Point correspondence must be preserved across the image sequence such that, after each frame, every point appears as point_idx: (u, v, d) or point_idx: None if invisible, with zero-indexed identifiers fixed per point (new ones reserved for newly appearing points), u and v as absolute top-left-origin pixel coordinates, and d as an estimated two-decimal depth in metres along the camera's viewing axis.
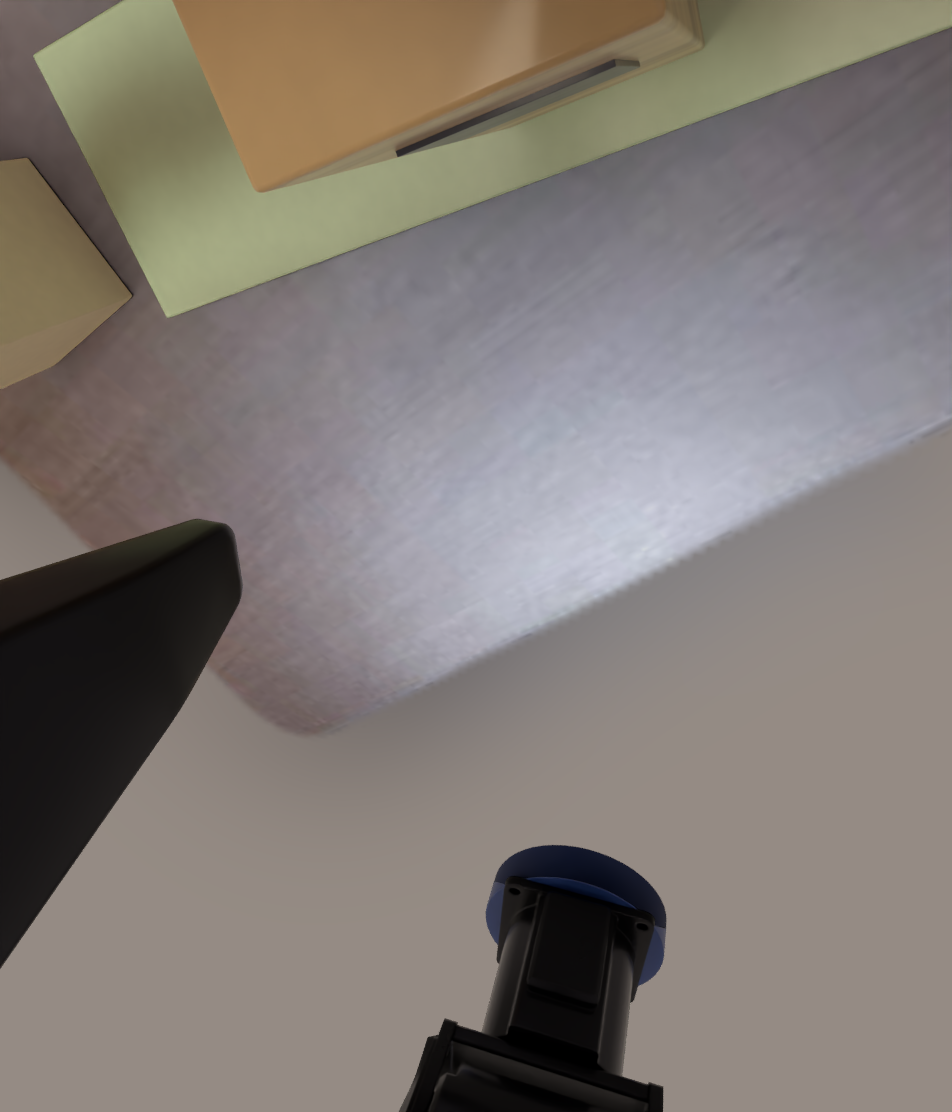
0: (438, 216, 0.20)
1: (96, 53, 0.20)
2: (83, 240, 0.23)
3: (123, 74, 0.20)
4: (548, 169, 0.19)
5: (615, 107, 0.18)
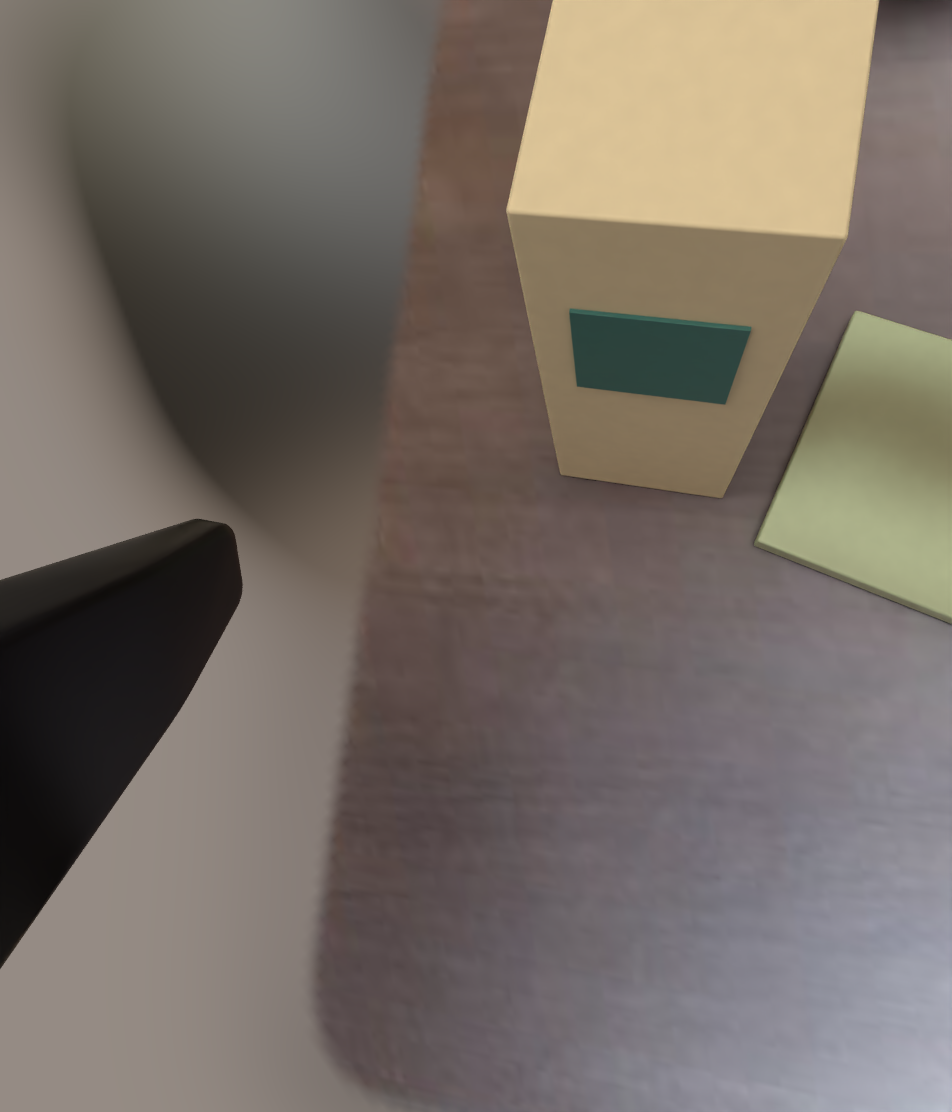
0: None
1: (917, 352, 0.21)
2: None
3: (927, 380, 0.21)
4: None
5: None
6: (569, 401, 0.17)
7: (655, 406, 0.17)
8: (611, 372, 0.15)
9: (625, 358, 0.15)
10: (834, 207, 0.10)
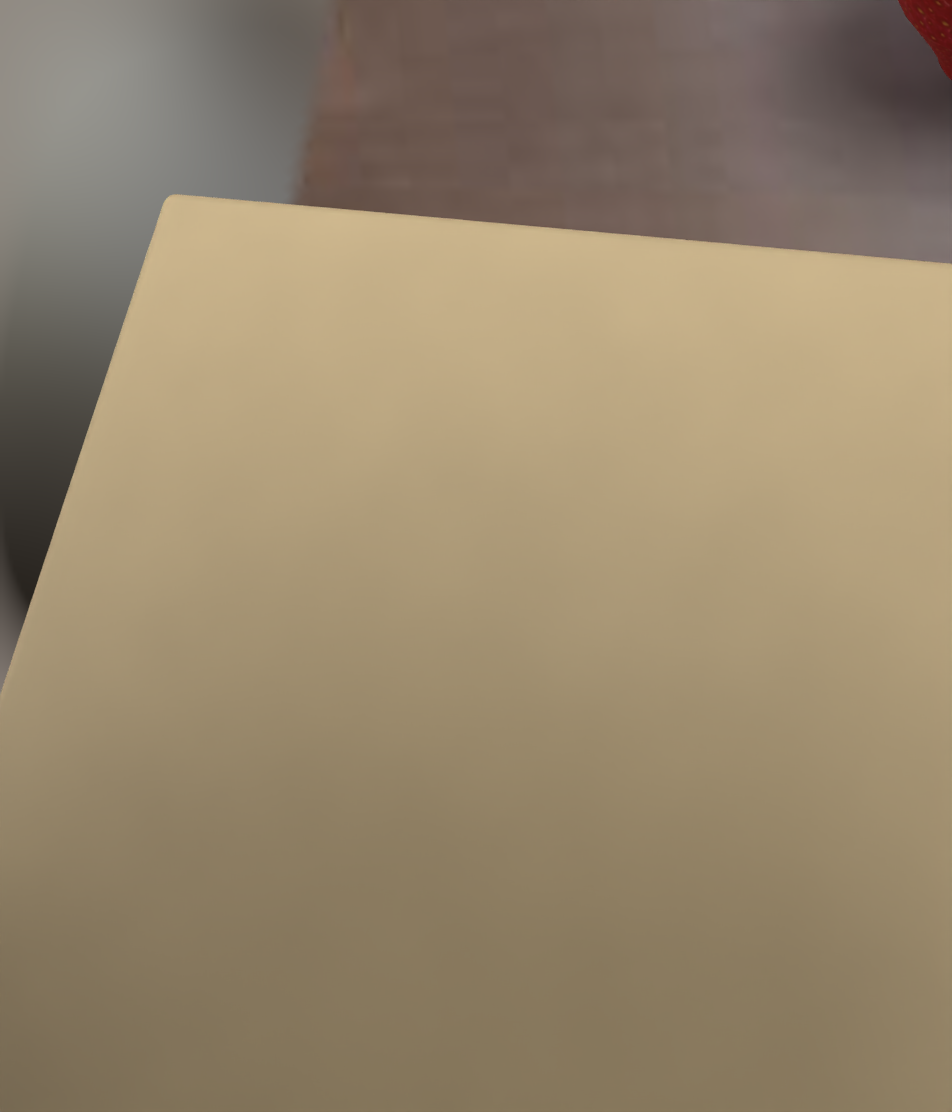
0: None
1: None
2: None
3: None
4: None
5: None
6: None
7: None
8: None
9: None
10: None
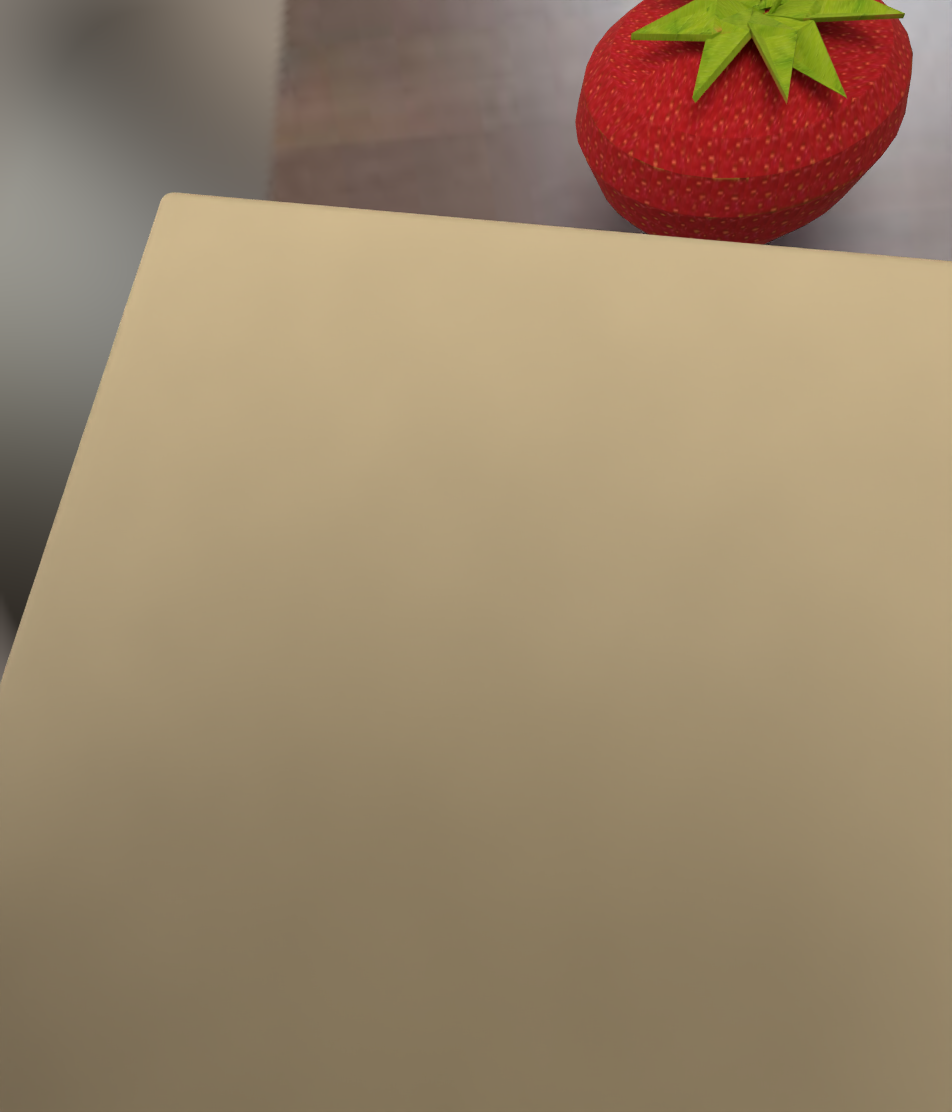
0: None
1: None
2: None
3: None
4: None
5: None
6: None
7: None
8: None
9: None
10: None
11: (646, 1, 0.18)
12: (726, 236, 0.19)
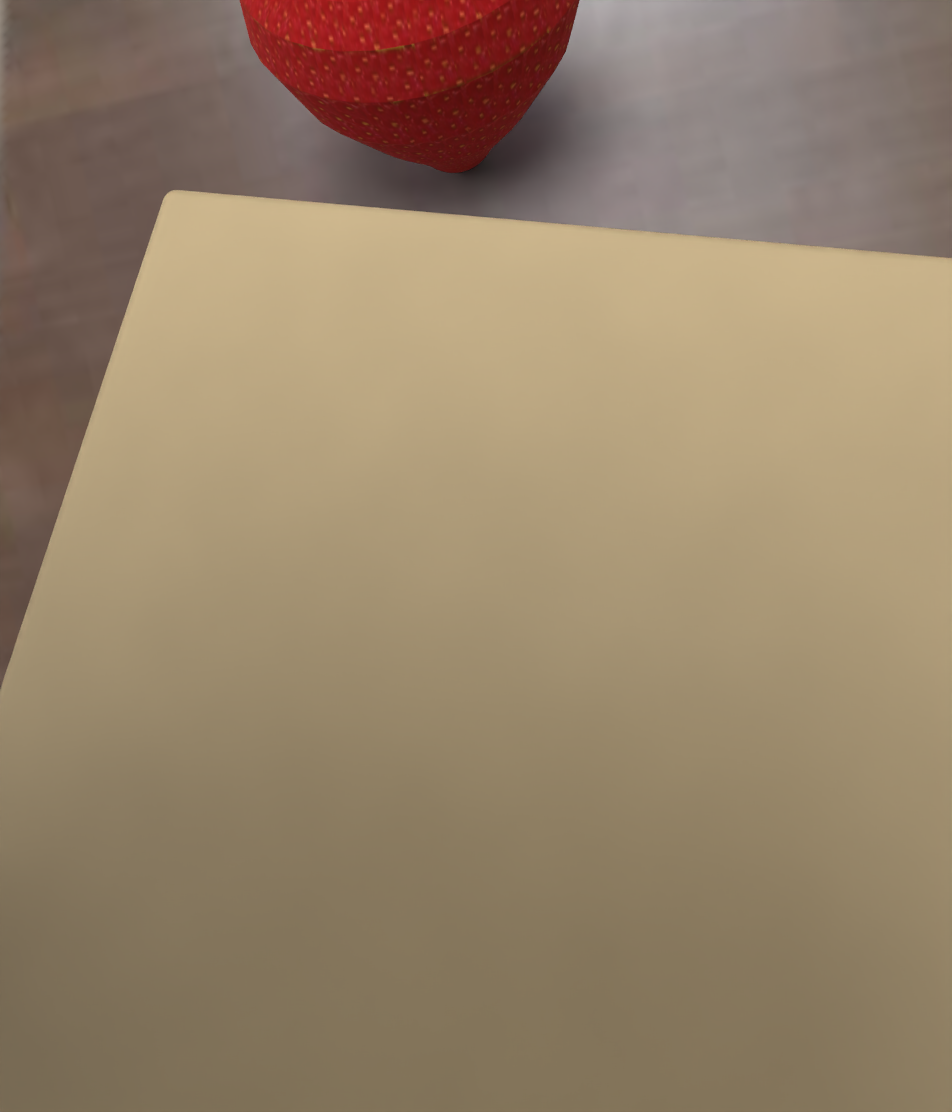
0: None
1: None
2: None
3: None
4: None
5: None
6: None
7: None
8: None
9: None
10: None
11: None
12: (429, 126, 0.17)
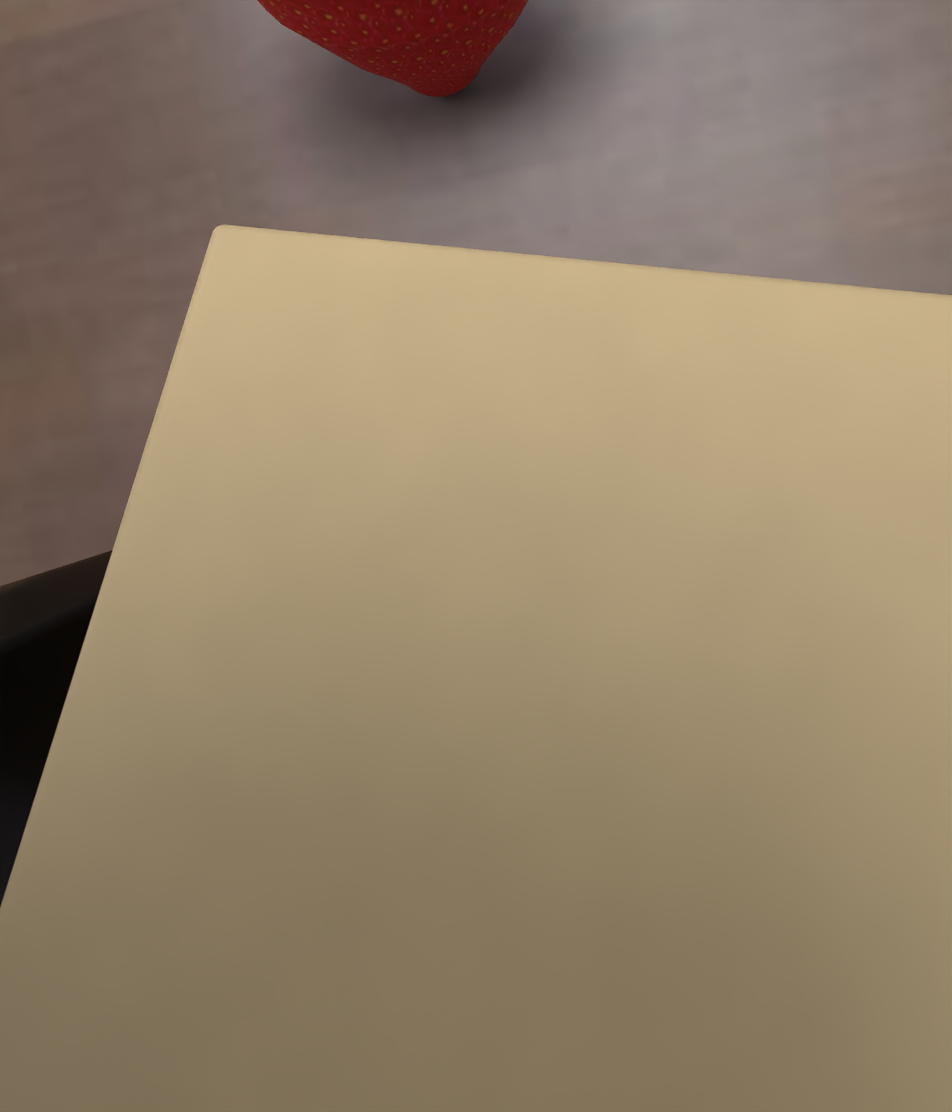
0: None
1: None
2: None
3: None
4: None
5: None
6: None
7: None
8: None
9: None
10: None
11: None
12: (405, 20, 0.14)
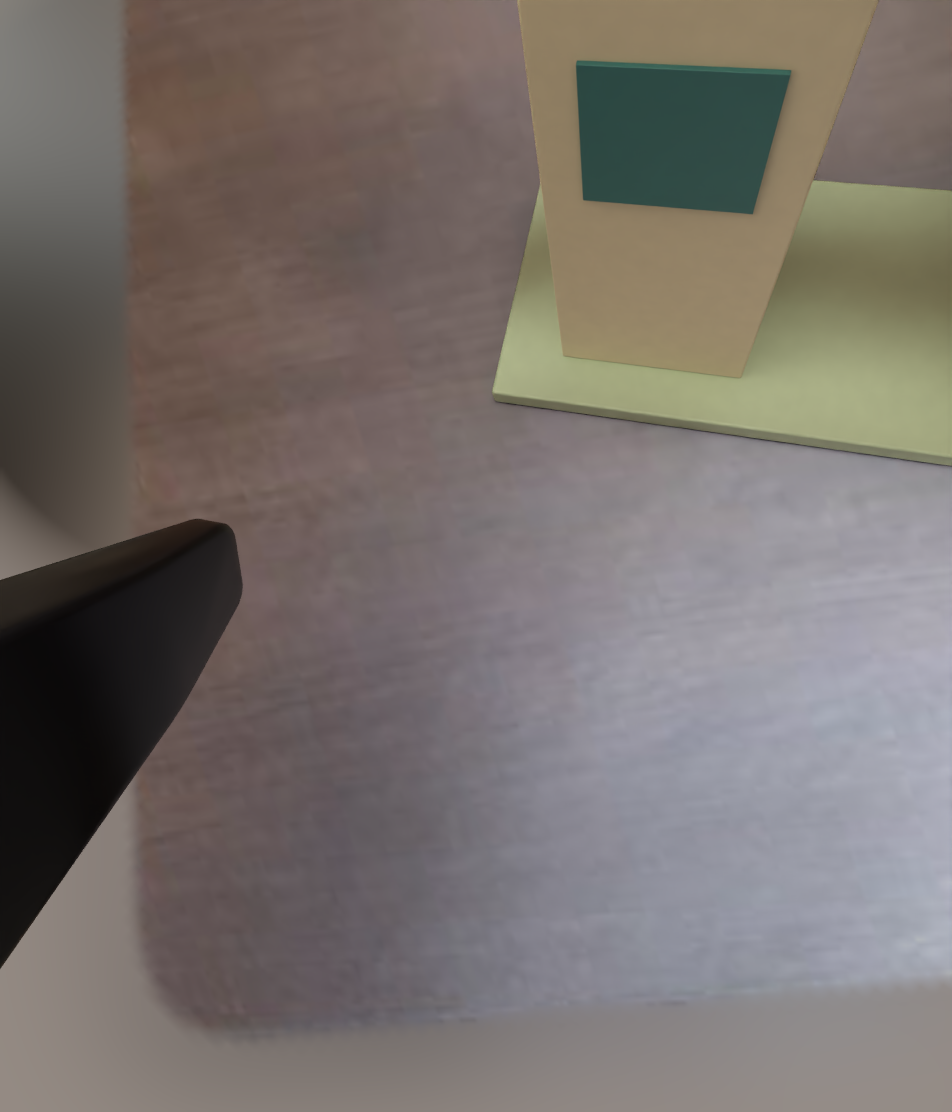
0: (863, 443, 0.19)
1: None
2: None
3: None
4: None
5: None
6: (574, 229, 0.15)
7: (671, 228, 0.15)
8: (623, 170, 0.13)
9: (640, 144, 0.13)
10: None
11: None
12: None
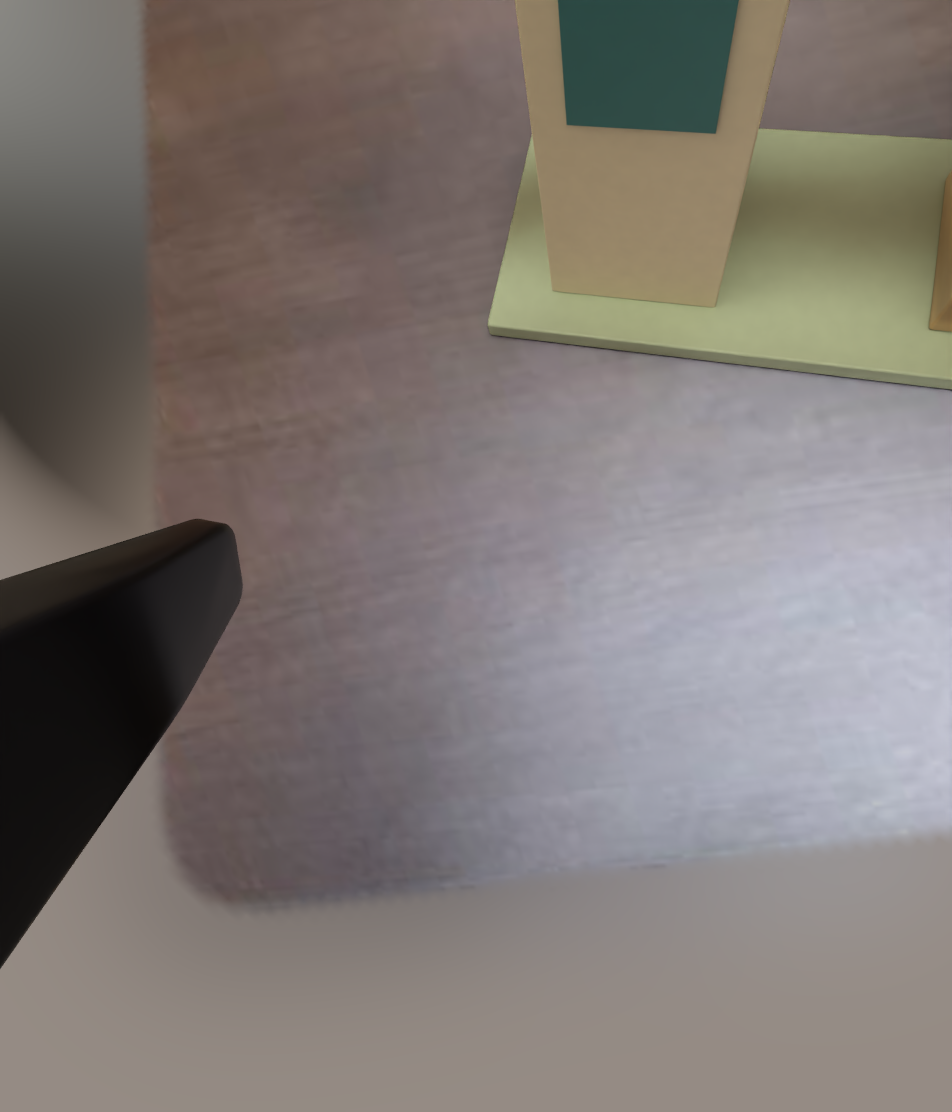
0: (826, 363, 0.21)
1: None
2: None
3: None
4: (950, 374, 0.20)
5: None
6: (559, 156, 0.17)
7: (645, 151, 0.16)
8: (600, 93, 0.15)
9: (615, 67, 0.14)
10: None
11: None
12: None
